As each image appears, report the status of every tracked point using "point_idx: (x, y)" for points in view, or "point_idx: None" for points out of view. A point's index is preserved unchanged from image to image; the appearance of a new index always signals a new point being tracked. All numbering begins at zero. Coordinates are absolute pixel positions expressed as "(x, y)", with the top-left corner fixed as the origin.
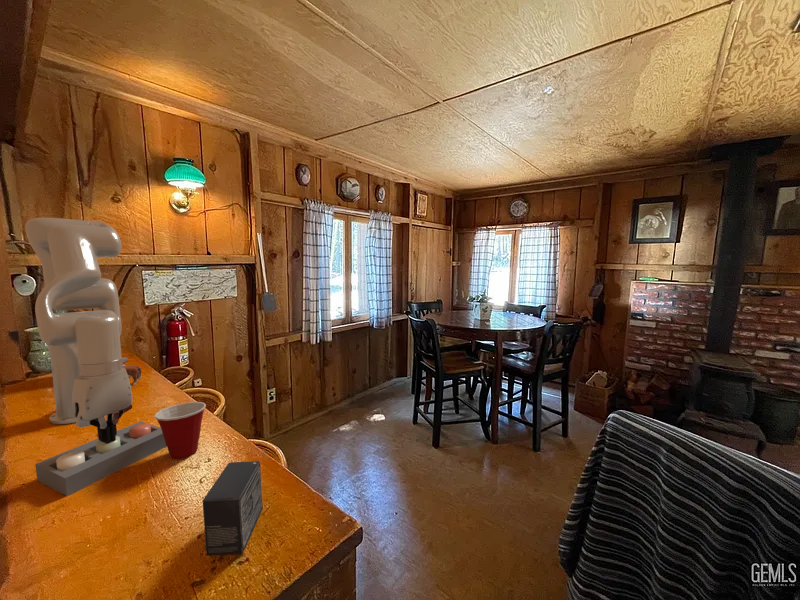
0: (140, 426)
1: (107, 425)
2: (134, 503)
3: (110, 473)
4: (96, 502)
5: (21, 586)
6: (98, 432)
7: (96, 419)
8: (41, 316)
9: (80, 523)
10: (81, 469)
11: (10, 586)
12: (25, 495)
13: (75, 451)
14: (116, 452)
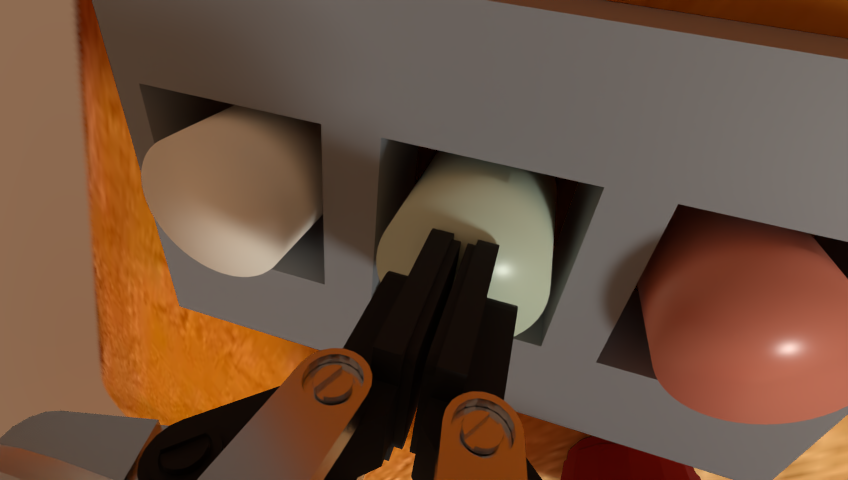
0: (790, 353)
1: (420, 414)
2: None
3: None
4: (281, 363)
5: (119, 399)
6: (359, 329)
7: (273, 470)
8: None
9: (224, 382)
10: (244, 316)
11: (105, 384)
12: None
13: (254, 179)
14: None
